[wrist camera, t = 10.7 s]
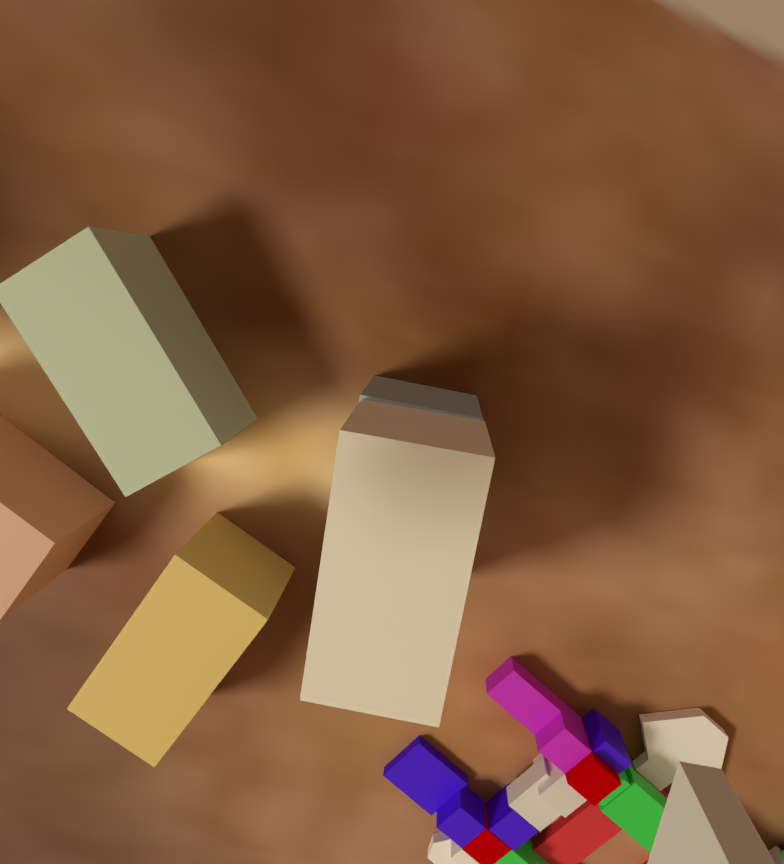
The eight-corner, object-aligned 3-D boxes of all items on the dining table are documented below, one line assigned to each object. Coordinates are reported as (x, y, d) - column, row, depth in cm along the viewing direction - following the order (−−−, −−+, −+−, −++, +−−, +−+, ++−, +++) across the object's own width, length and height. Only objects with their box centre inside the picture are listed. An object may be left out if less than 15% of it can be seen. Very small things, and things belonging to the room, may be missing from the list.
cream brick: (361, 399, 23) (339, 429, 19) (484, 421, 23) (495, 457, 18) (327, 620, 25) (299, 700, 21) (440, 642, 25) (438, 727, 20)
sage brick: (68, 288, 29) (-9, 289, 24) (151, 236, 28) (88, 226, 23) (177, 462, 30) (125, 497, 25) (258, 418, 29) (221, 445, 24)
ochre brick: (218, 510, 30) (175, 554, 25) (296, 566, 31) (268, 619, 26) (123, 644, 32) (66, 708, 28) (197, 695, 33) (154, 767, 28)
